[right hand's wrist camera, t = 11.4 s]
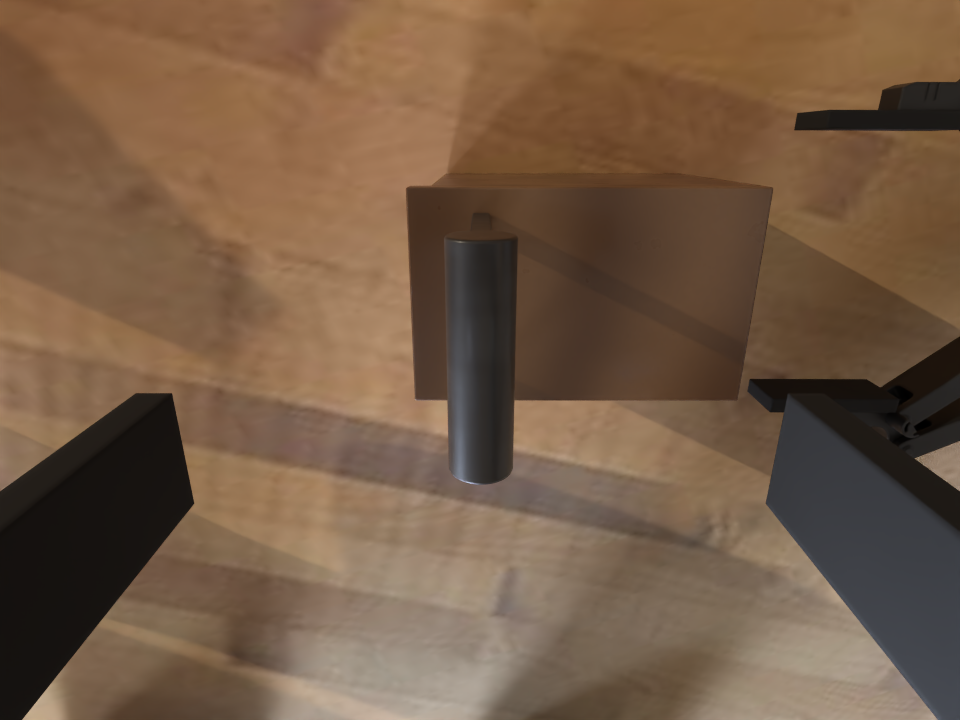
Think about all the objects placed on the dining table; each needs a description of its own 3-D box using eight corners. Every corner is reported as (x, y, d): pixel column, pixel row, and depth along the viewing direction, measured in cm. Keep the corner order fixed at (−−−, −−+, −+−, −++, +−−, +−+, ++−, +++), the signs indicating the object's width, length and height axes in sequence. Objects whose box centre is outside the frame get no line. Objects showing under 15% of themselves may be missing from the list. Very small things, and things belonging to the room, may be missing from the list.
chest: (448, 325, 37) (436, 391, 27) (445, 173, 34) (430, 185, 24) (662, 325, 37) (728, 391, 27) (680, 173, 34) (762, 185, 24)
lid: (417, 391, 27) (387, 507, 18) (408, 185, 24) (367, 208, 15) (729, 392, 27) (845, 508, 18) (762, 185, 24) (923, 209, 15)
